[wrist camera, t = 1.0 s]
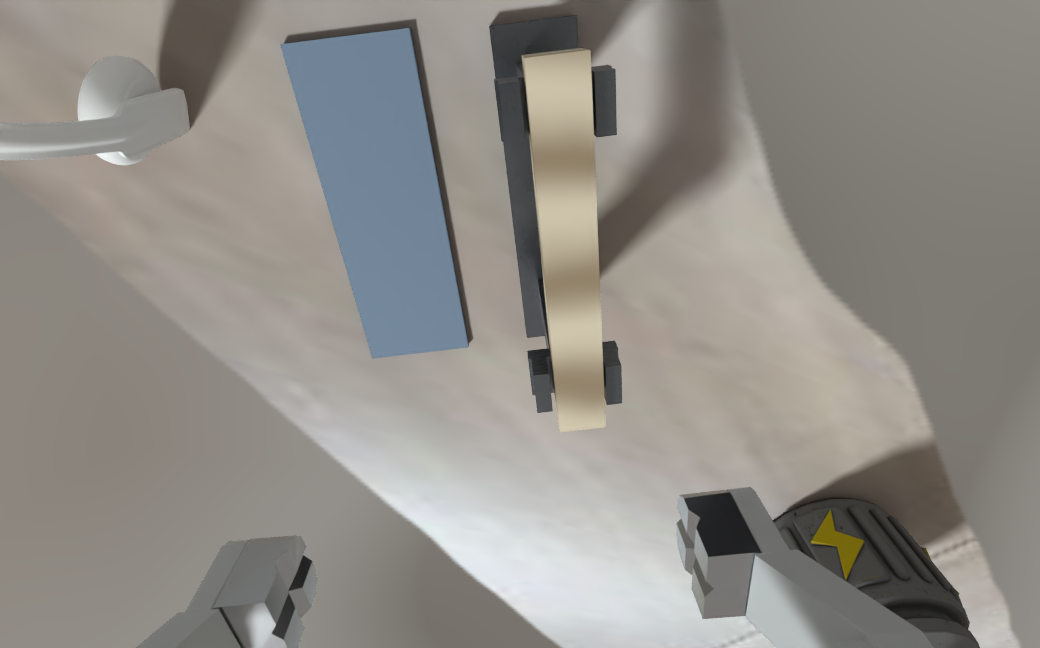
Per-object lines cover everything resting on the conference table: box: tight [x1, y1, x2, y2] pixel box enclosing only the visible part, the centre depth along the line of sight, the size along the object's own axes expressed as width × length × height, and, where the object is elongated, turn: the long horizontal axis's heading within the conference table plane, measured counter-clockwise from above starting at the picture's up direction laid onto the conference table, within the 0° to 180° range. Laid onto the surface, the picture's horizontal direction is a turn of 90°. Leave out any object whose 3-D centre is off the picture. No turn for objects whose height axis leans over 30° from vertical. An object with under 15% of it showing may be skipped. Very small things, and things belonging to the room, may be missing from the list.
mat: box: [280, 28, 469, 358], centre depth 43 cm, size 26×9×1 cm, turn 6°
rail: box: [521, 48, 606, 432], centre depth 31 cm, size 22×3×3 cm, turn 6°
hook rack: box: [489, 15, 622, 413], centre depth 37 cm, size 25×6×15 cm, turn 6°
